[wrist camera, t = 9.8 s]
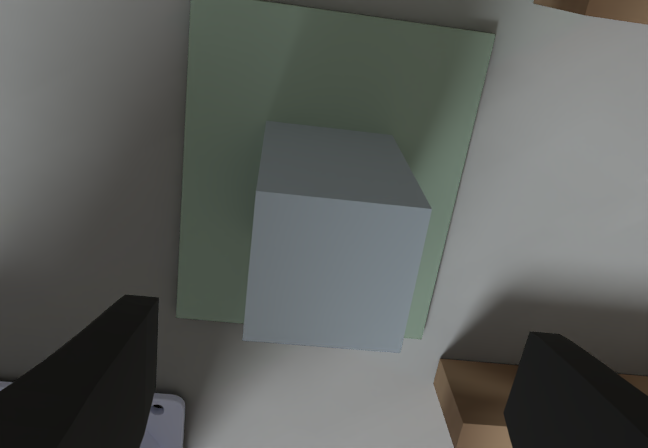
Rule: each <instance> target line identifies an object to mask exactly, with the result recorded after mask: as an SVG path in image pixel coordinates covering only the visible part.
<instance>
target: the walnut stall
mask: <svg viewBox="0 0 648 448" xmlns="http://www.w3.org/2000/svg"><path fill="white" fill-rule="evenodd" d="M534 4H538V5H543V6H547V7H551V8H556V9H560V10H564V11H569V12H573V13H577V14H582V15H587V16H594V17H600V18H607V19H614V20H621V21H627V22H634V23H641V24H648V0H534ZM518 366H519V365H509V364H497V363H486V362H474V361H462V360H450V359H440V360H439V364H438V368H437V372H436V375H435V379H434V383H433V384H434V387H435V390H436V393H437V396H438V399H439V402H440V405H441V408H442V412H443V415H444V418H445V421H446V424H447V427H448V430H449V433H450V436H451V439H452V442H453V445H454V448H512V444H511V441H510V437H509V433H508V429H507V426H506V422H505V418H504V414H503V412H504V409H505V406H506V403H507V400H508V397H509V394H510V391H511V388H512V385H513V382H514V379H515V376H516V373H517V369H518ZM618 375H620V376H621V377H622V378H624V379H625V380H626V381H628V382H629V383H631V384H632V385H633V386H635V387H636V388H638V389H639V390H640V391H642V392H643V393H644V394H646V395H647V396H648V376H638V375H626V374H618Z"/></svg>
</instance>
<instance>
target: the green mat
mask: <svg viewBox="0 0 648 448" xmlns="http://www.w3.org/2000/svg"><path fill="white" fill-rule="evenodd" d="M495 36H496V35H495V34H493V33H487V32H480V31H473V30H466V29H459V28H452V27H445V26H438V25H431V24H423V23H416V22H409V21H402V20H395V19H388V18H381V17H374V16H367V15H360V14H353V13H346V12H339V11H332V10H325V9H318V8H311V7H304V6H297V5H290V4H283V3H276V2H269V1H262V0H191V2H190V24H189V45H188V67H187V89H186V111H185V133H184V154H183V176H182V198H181V220H180V242H179V263H178V285H177V307H176V318H185V319H196V320H207V321H219V322H230V323H241V324H244V318H245V307H246V296H247V285H248V274H249V263H250V252H251V241H252V230H253V219H254V208H255V197H256V188H257V181H258V174H259V167H260V160H261V154H262V147H263V140H264V133H265V126H266V121H274V122H282V123H291V124H300V125H309V126H317V127H326V128H335V129H343V130H352V131H361V132H370V133H378V134H387V135H393V137H394V139H395V141H396V143H397V145H398V147H399V148H400V150H401V152H402V154H403V156H404V158H405V160H406V162H407V163H408V165H409V167H410V169H411V171H412V173H413V175H414V176H415V178H416V180H417V182H418V184H419V186H420V188H421V189H422V191H423V193H424V195H425V197H426V199H427V201H428V203H429V204H430V206H431V208H432V212H431V216H430V221H429V225H428V230H427V234H426V239H425V243H424V248H423V252H422V257H421V262H420V266H419V271H418V275H417V280H416V284H415V289H414V293H413V298H412V302H411V307H410V311H409V316H408V321H407V325H406V330H405V334H404V338H411V339H422V335H423V331H424V327H425V323H426V319H427V314H428V310H429V306H430V302H431V298H432V294H433V290H434V286H435V282H436V278H437V273H438V269H439V265H440V261H441V257H442V253H443V249H444V245H445V241H446V237H447V232H448V228H449V224H450V220H451V216H452V212H453V208H454V204H455V200H456V196H457V191H458V187H459V183H460V179H461V175H462V171H463V167H464V163H465V159H466V155H467V150H468V146H469V142H470V138H471V134H472V130H473V126H474V122H475V118H476V114H477V109H478V105H479V101H480V97H481V93H482V89H483V85H484V81H485V77H486V73H487V68H488V64H489V60H490V56H491V52H492V48H493V44H494V40H495Z"/></svg>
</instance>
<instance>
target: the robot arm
mask: <svg viewBox="0 0 648 448" xmlns="http://www.w3.org/2000/svg"><path fill="white" fill-rule="evenodd" d="M158 304H159V298H156V297H145V296H134V295H124V296H123V297H122V298H120V299H119V300H118V301H117V302H115V303H114V304H113V305H112V306H110V307H109V308H108V309H107V310H106V311H105V312H103V313H102V314H101V315H100V316H99V317H98V318H96V319H95V320H94V321H93V322H92V323H91V324H89V325H88V326H87V327H86V328H85V329H83V330H82V331H81V332H80V333H78V334H77V335H76V336H75V337H73V338H72V339H71V340H70V341H68V342H67V343H66V344H65V345H63V346H62V347H61V348H60V349H58V350H57V351H56V352H55V353H53V354H52V355H51V356H49V357H48V358H47V359H45V360H44V361H43V362H41V363H40V364H38V365H37V366H36V367H34V368H33V369H31V370H30V371H28V372H27V373H26V374H24V375H23V376H21V377H20V378H19V379H17V380H16V381H14V382H3V381H0V448H183V439H184V421H185V402H184V400H183V399H182V398H181V397H179V396H178V395H173V394H161V393H154V392H155V388H156V367H157V336H158ZM156 404H158V405H161V406H162V407H163V408H156V407H155V406H153V405H156ZM503 414H504V418H505V422H506V426H507V429H508V433H509V437H510V441H511V444H512V448H648V396H647V395H646V394H644V393H643V392H642V391H640V390H639V389H638V388H636V387H635V386H633V385H632V384H631V383H629V382H628V381H626V380H625V379H624V378H622V377H621V376H620V375H618V374H617V373H616V372H614V371H613V370H611V369H610V368H609V367H607V366H606V365H605V364H603V363H602V362H600V361H599V360H598V359H596V358H595V357H593V356H592V355H591V354H589V353H588V352H586V351H585V350H584V349H582V348H581V347H579V346H578V345H576V344H575V343H573V342H572V341H570V340H568V339H567V338H565V337H563V336H562V335H560V334H552V333H541V332H530V333H529V336H528V339H527V342H526V345H525V348H524V351H523V354H522V357H521V360H520V363H519V366H518V369H517V373H516V376H515V379H514V382H513V385H512V388H511V391H510V394H509V397H508V400H507V403H506V406H505V409H504V412H503Z"/></svg>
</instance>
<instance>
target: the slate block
mask: <svg viewBox="0 0 648 448" xmlns="http://www.w3.org/2000/svg"><path fill="white" fill-rule="evenodd" d="M431 212H432V208H431V206H430V204H429V203H428V201H427V199H426V197H425V195H424V193H423V191H422V189H421V188H420V186H419V184H418V182H417V180H416V178H415V176H414V175H413V173H412V171H411V169H410V167H409V165H408V163H407V162H406V160H405V158H404V156H403V154H402V152H401V150H400V148H399V147H398V145H397V143H396V141H395V139H394V137H393V135H387V134H378V133H370V132H361V131H352V130H343V129H335V128H326V127H317V126H309V125H300V124H291V123H282V122H274V121H266V126H265V133H264V140H263V147H262V154H261V160H260V167H259V174H258V181H257V188H256V197H255V208H254V219H253V230H252V241H251V252H250V263H249V274H248V285H247V296H246V307H245V318H244V329H243V340H242V341H254V342H266V343H279V344H292V345H304V346H317V347H330V348H342V349H355V350H367V351H380V352H393V353H400V352H401V348H402V343H403V339H404V334H405V330H406V325H407V321H408V316H409V311H410V307H411V302H412V298H413V293H414V289H415V284H416V280H417V275H418V271H419V266H420V262H421V257H422V252H423V248H424V243H425V239H426V234H427V230H428V225H429V221H430V216H431Z"/></svg>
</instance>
